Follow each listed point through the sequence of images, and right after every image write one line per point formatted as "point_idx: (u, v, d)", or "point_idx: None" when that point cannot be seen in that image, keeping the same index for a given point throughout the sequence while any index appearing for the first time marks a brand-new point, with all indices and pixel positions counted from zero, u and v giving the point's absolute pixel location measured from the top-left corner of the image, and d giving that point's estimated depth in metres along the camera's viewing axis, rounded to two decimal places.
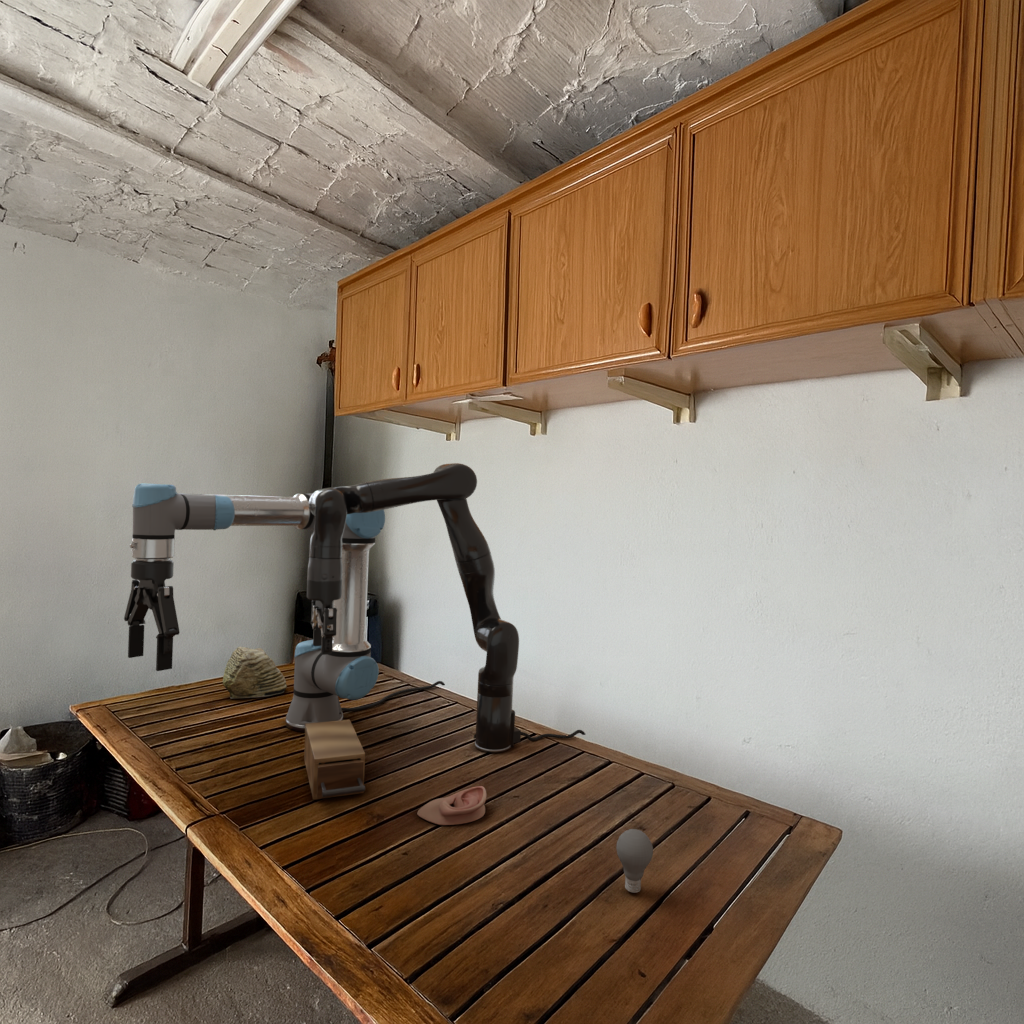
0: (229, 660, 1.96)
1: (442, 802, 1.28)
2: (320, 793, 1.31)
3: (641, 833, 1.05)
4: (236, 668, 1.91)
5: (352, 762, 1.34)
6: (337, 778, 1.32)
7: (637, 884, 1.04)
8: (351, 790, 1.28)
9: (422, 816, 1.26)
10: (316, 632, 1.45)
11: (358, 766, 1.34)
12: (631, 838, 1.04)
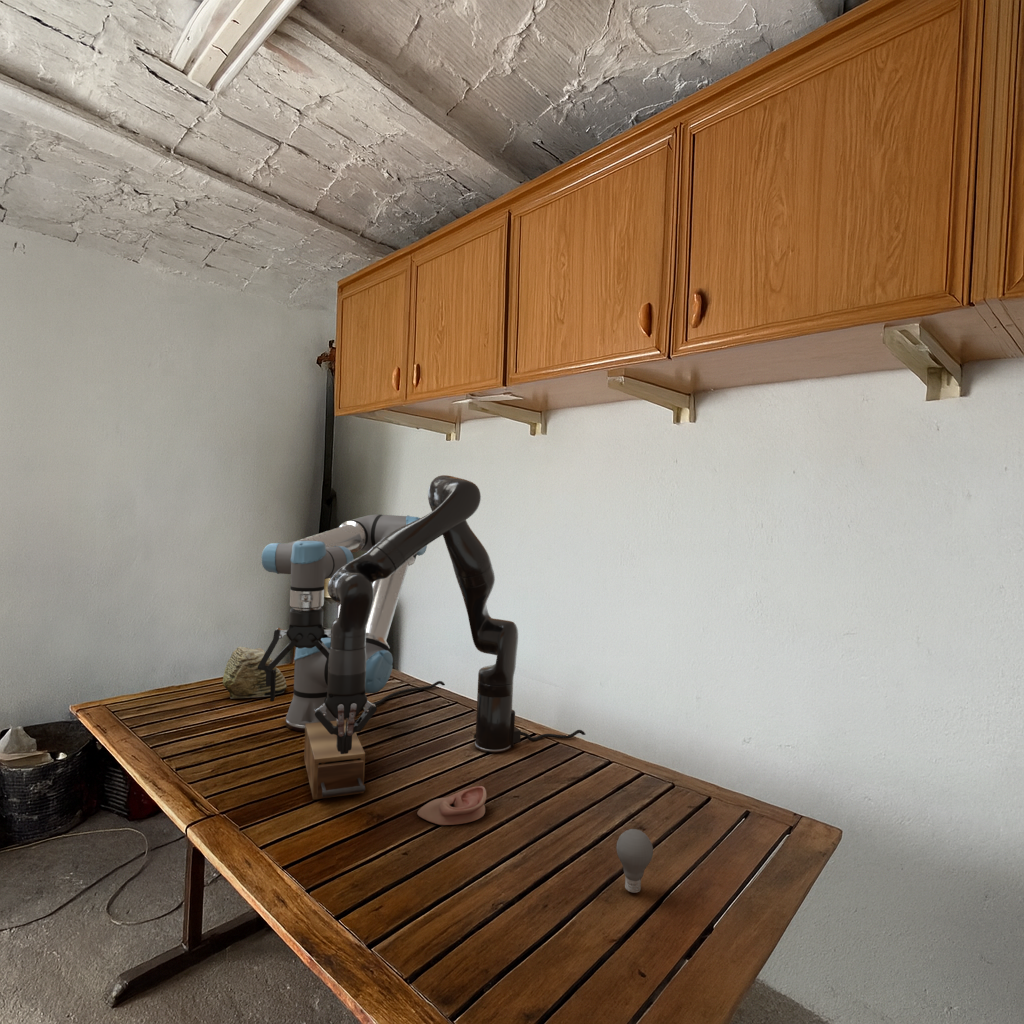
0: (229, 660, 1.96)
1: (442, 802, 1.28)
2: (320, 793, 1.31)
3: (641, 833, 1.05)
4: (236, 668, 1.91)
5: (352, 762, 1.34)
6: (337, 778, 1.32)
7: (637, 884, 1.04)
8: (351, 790, 1.28)
9: (422, 816, 1.26)
10: None
11: (358, 766, 1.34)
12: (631, 838, 1.04)
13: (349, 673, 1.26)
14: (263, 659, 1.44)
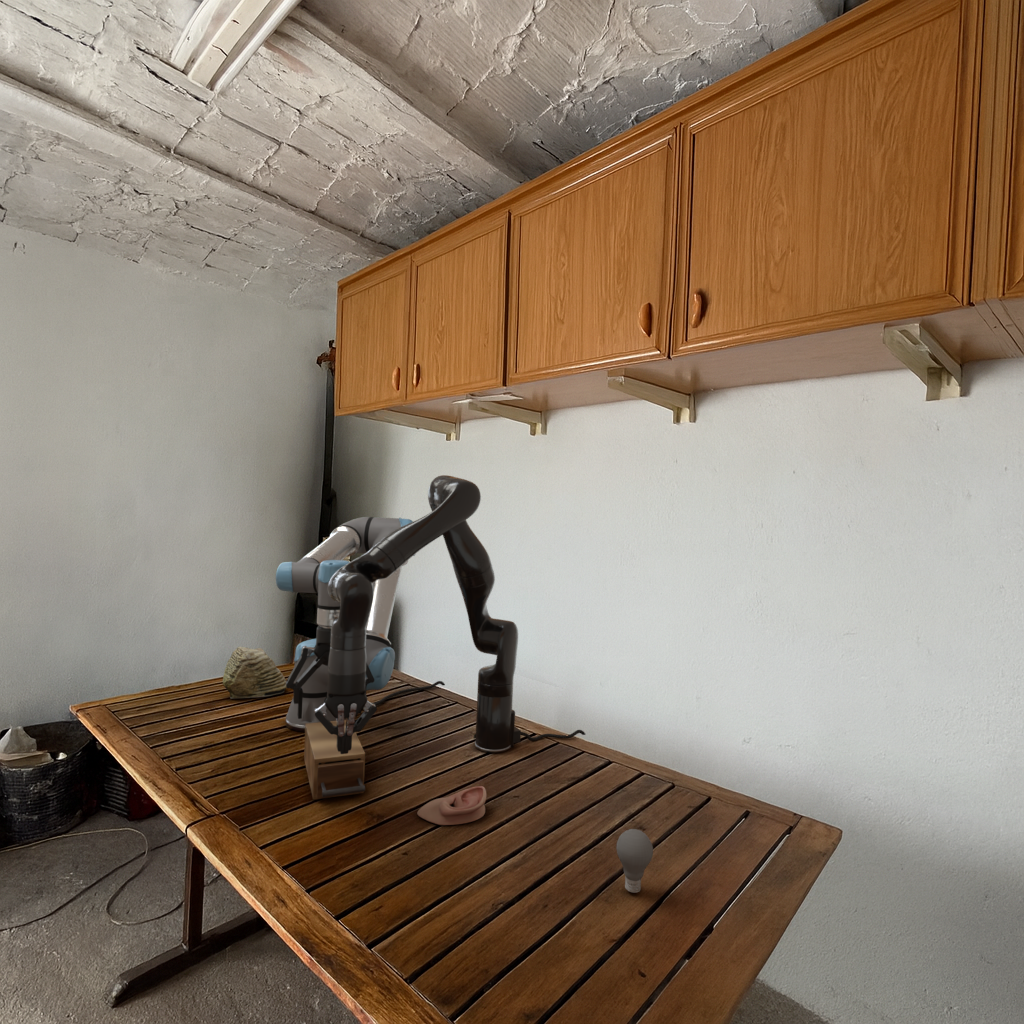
0: (229, 660, 1.96)
1: (442, 802, 1.28)
2: (320, 793, 1.31)
3: (641, 833, 1.05)
4: (236, 668, 1.91)
5: (352, 762, 1.34)
6: (337, 778, 1.32)
7: (637, 884, 1.04)
8: (351, 790, 1.28)
9: (422, 816, 1.26)
10: None
11: (358, 766, 1.34)
12: (631, 838, 1.04)
13: (349, 673, 1.26)
14: (292, 677, 1.46)
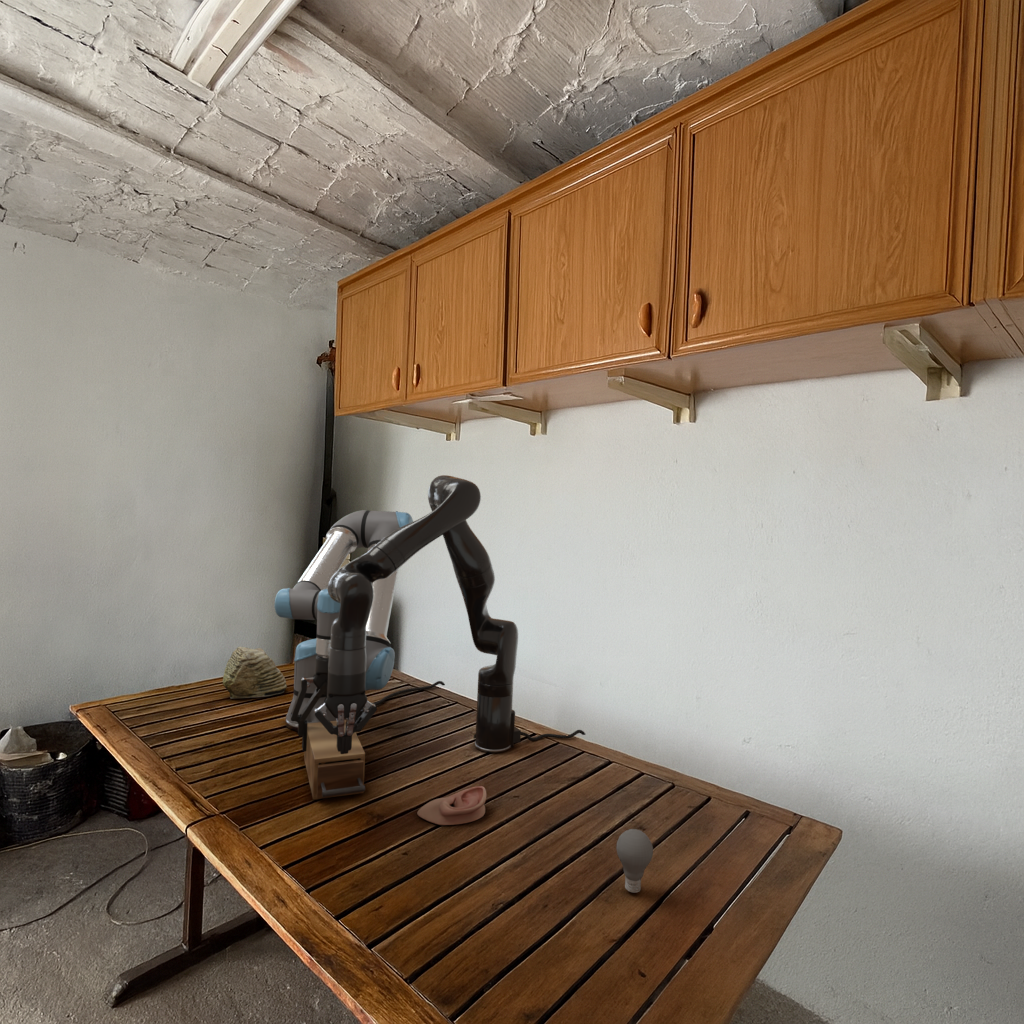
0: (229, 660, 1.96)
1: (442, 802, 1.28)
2: (320, 793, 1.31)
3: (641, 833, 1.05)
4: (236, 668, 1.91)
5: (352, 762, 1.34)
6: (337, 778, 1.32)
7: (637, 884, 1.04)
8: (351, 790, 1.28)
9: (422, 816, 1.26)
10: None
11: (358, 766, 1.34)
12: (631, 838, 1.04)
13: (349, 673, 1.26)
14: (295, 710, 1.47)
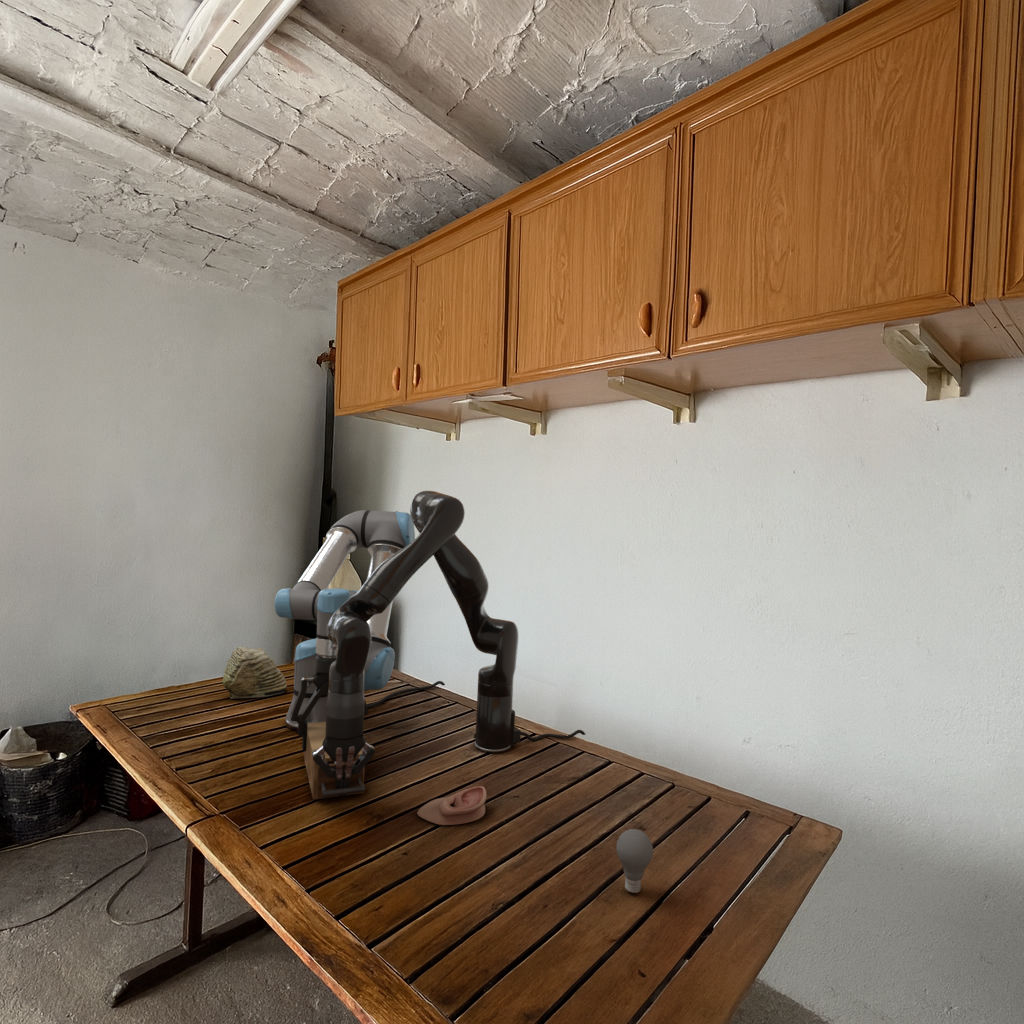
0: (229, 660, 1.96)
1: (442, 802, 1.28)
2: (320, 793, 1.31)
3: (641, 833, 1.05)
4: (236, 668, 1.91)
5: None
6: None
7: (637, 884, 1.04)
8: (351, 790, 1.28)
9: (422, 816, 1.26)
10: None
11: None
12: (631, 838, 1.04)
13: (347, 717, 1.26)
14: (295, 710, 1.47)
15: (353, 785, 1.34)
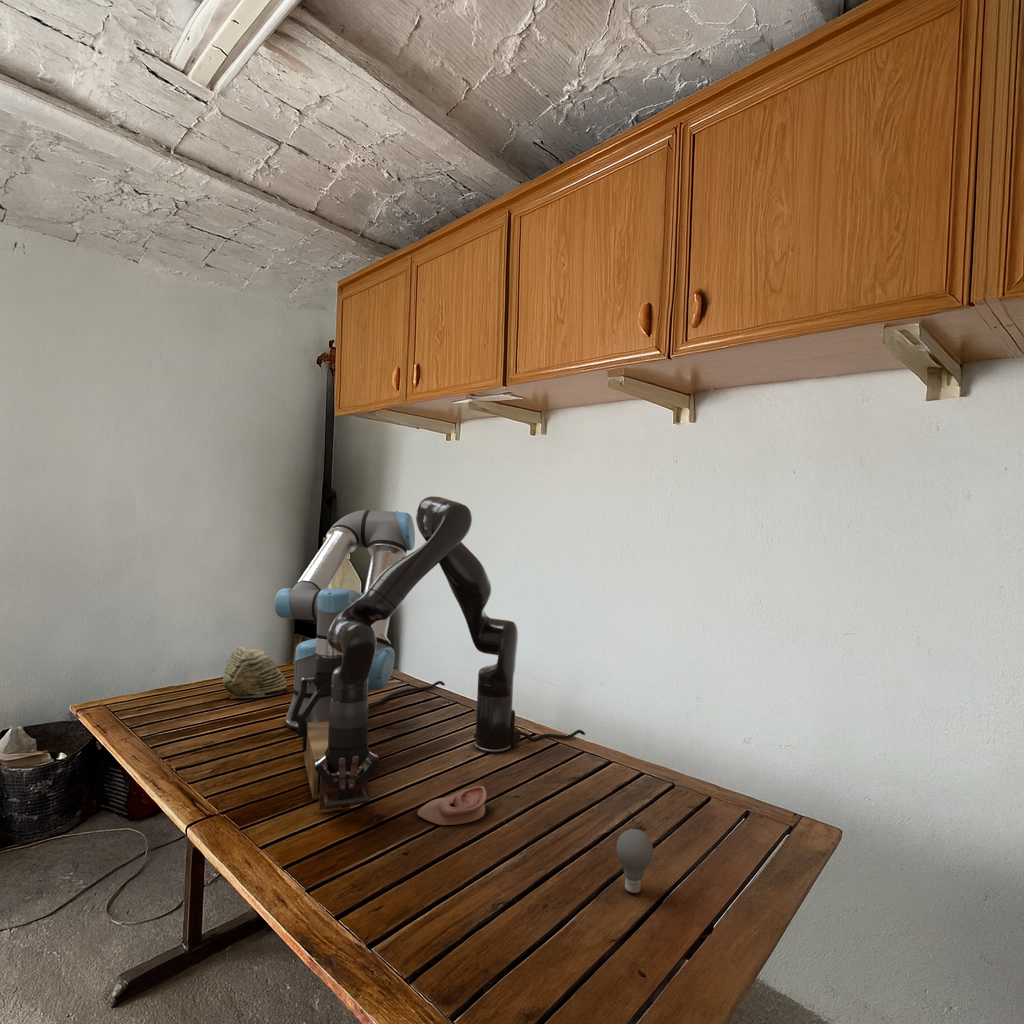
0: (229, 660, 1.96)
1: (442, 802, 1.28)
2: (323, 804, 1.27)
3: (641, 833, 1.05)
4: (236, 668, 1.91)
5: None
6: None
7: (637, 884, 1.04)
8: (355, 800, 1.24)
9: (422, 816, 1.26)
10: None
11: None
12: (631, 838, 1.04)
13: (350, 726, 1.21)
14: (295, 710, 1.47)
15: (357, 795, 1.29)
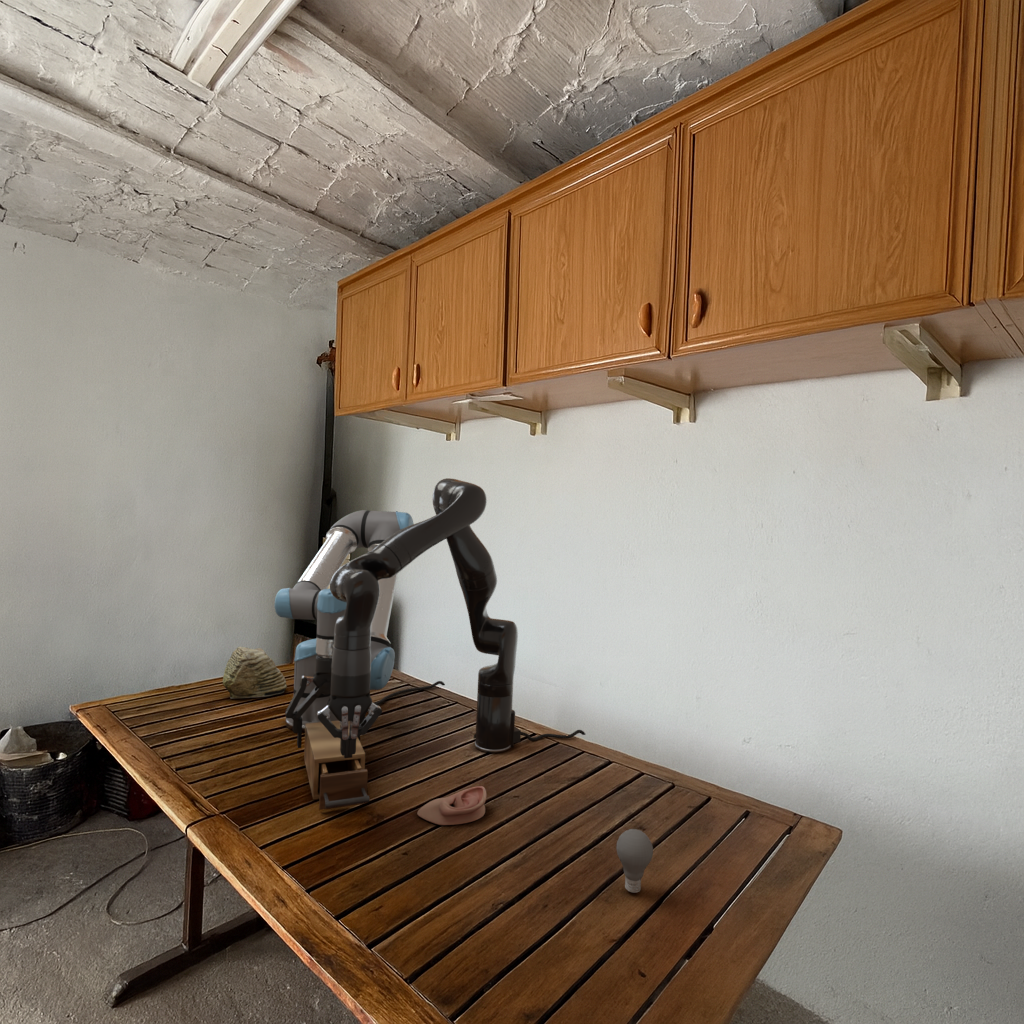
0: (229, 660, 1.96)
1: (442, 802, 1.28)
2: (323, 804, 1.27)
3: (641, 833, 1.05)
4: (236, 668, 1.91)
5: (356, 771, 1.29)
6: (340, 789, 1.28)
7: (637, 884, 1.04)
8: (355, 800, 1.24)
9: (422, 816, 1.26)
10: None
11: (362, 776, 1.29)
12: (631, 838, 1.04)
13: (353, 674, 1.21)
14: (291, 707, 1.47)
15: (357, 795, 1.29)
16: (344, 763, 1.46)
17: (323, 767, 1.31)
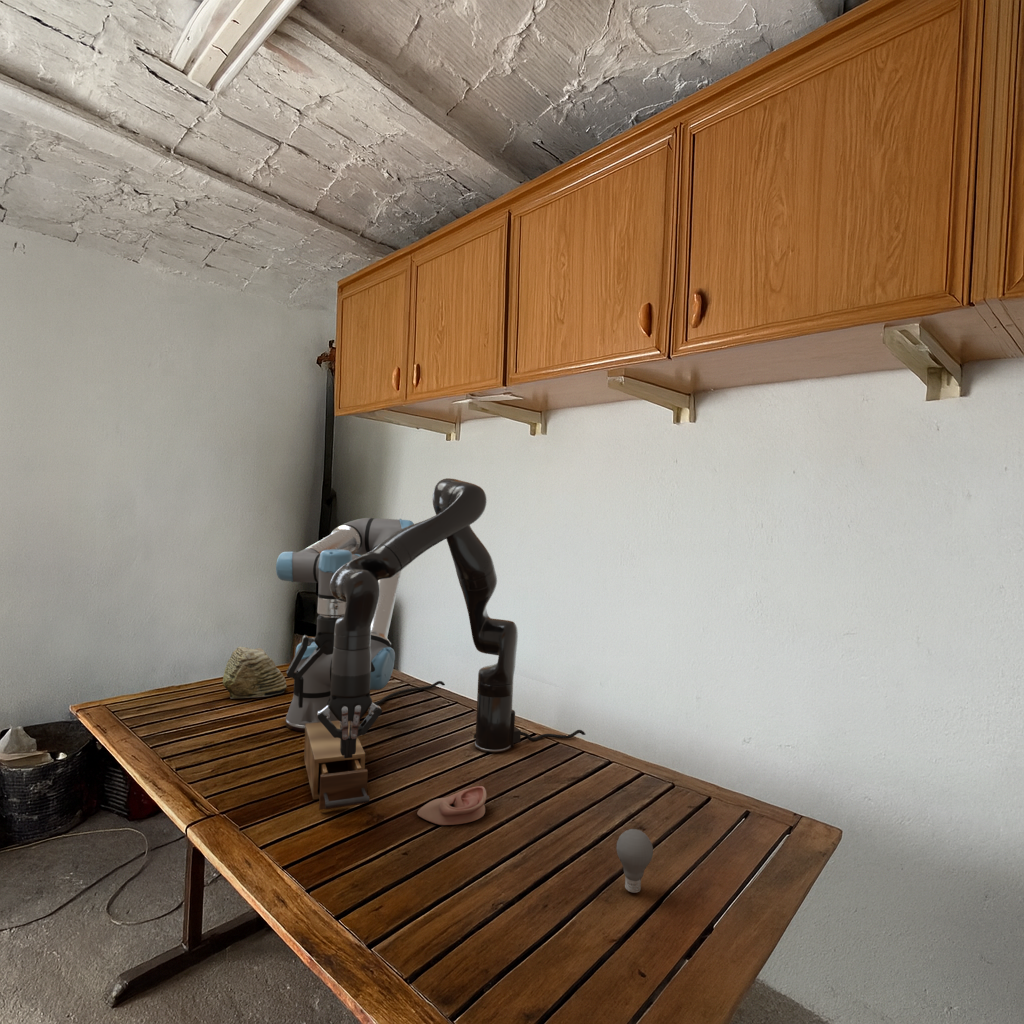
0: (229, 660, 1.96)
1: (442, 802, 1.28)
2: (323, 804, 1.27)
3: (641, 833, 1.05)
4: (236, 668, 1.91)
5: (356, 771, 1.29)
6: (340, 789, 1.28)
7: (637, 884, 1.04)
8: (355, 800, 1.24)
9: (422, 816, 1.26)
10: None
11: (362, 776, 1.29)
12: (631, 838, 1.04)
13: (353, 674, 1.21)
14: (292, 667, 1.46)
15: (357, 795, 1.29)
16: (344, 763, 1.46)
17: (323, 767, 1.31)
